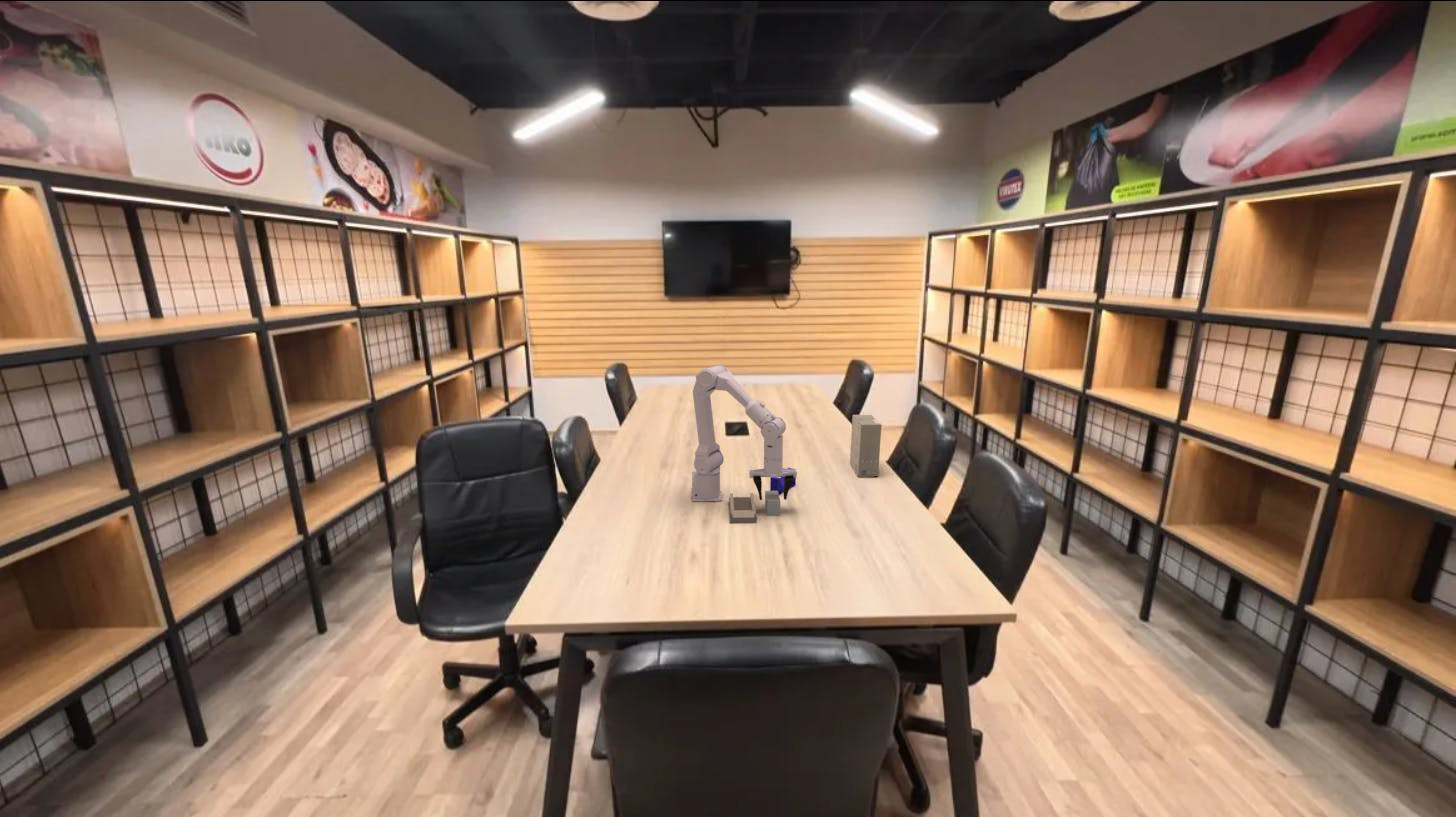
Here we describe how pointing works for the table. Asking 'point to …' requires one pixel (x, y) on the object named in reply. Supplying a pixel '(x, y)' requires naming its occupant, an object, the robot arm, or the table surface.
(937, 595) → the table surface
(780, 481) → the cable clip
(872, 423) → the hard drive box
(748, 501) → the grey rectangular tray
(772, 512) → the grey block
